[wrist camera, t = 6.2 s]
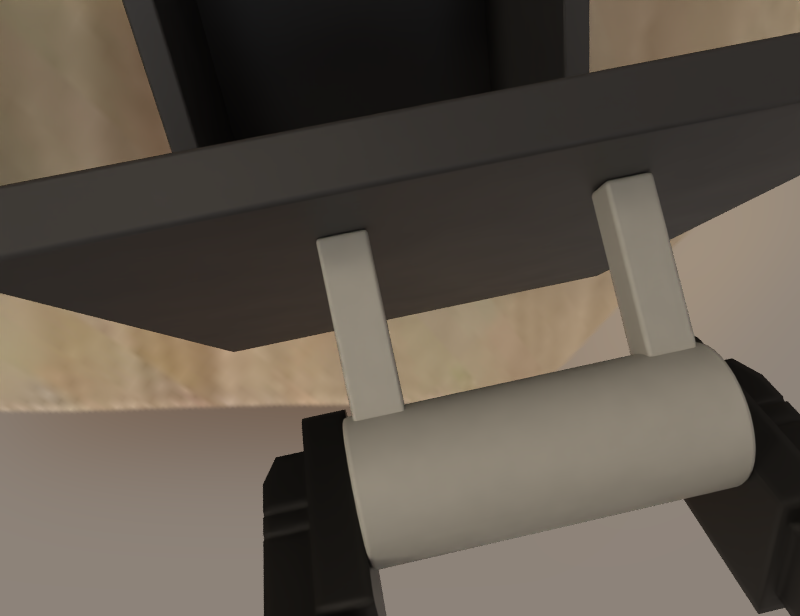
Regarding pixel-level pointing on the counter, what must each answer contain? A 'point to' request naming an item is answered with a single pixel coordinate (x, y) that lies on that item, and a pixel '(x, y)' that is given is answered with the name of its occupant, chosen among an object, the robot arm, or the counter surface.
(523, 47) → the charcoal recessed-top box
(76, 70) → the counter surface
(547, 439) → the charcoal box lid
